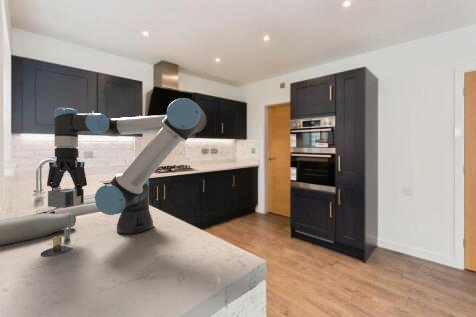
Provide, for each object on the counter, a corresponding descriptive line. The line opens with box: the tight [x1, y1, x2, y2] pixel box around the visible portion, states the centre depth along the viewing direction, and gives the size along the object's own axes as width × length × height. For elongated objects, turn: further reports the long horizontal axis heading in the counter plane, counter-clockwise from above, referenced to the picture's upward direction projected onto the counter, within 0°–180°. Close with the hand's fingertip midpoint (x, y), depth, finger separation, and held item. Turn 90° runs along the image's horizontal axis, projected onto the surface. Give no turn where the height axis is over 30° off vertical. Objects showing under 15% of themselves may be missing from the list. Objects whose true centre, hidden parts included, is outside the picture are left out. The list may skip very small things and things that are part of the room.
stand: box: [46, 227, 71, 246], centre depth 89 cm, size 9×9×5 cm
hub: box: [40, 235, 74, 258], centre depth 80 cm, size 9×9×5 cm
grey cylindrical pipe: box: [0, 211, 77, 246], centre depth 94 cm, size 10×10×28 cm
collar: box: [47, 187, 85, 209], centre depth 89 cm, size 8×8×6 cm
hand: (67, 204), depth 89 cm, fingers closed on collar, 8 cm apart
